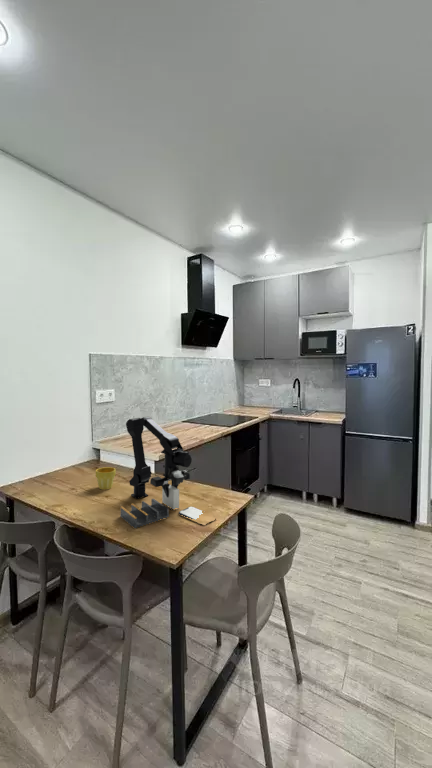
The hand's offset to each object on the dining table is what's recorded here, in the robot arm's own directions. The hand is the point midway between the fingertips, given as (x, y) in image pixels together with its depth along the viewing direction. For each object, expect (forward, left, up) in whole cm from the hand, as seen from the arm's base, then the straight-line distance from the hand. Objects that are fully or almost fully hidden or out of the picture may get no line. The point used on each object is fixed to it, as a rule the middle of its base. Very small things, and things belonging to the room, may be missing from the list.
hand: (170, 496), depth 151 cm
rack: (+3, -15, -4) cm, 16 cm away
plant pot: (-42, -15, -5) cm, 45 cm away
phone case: (+17, +3, -5) cm, 18 cm away
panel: (0, 0, -5) cm, 5 cm away
